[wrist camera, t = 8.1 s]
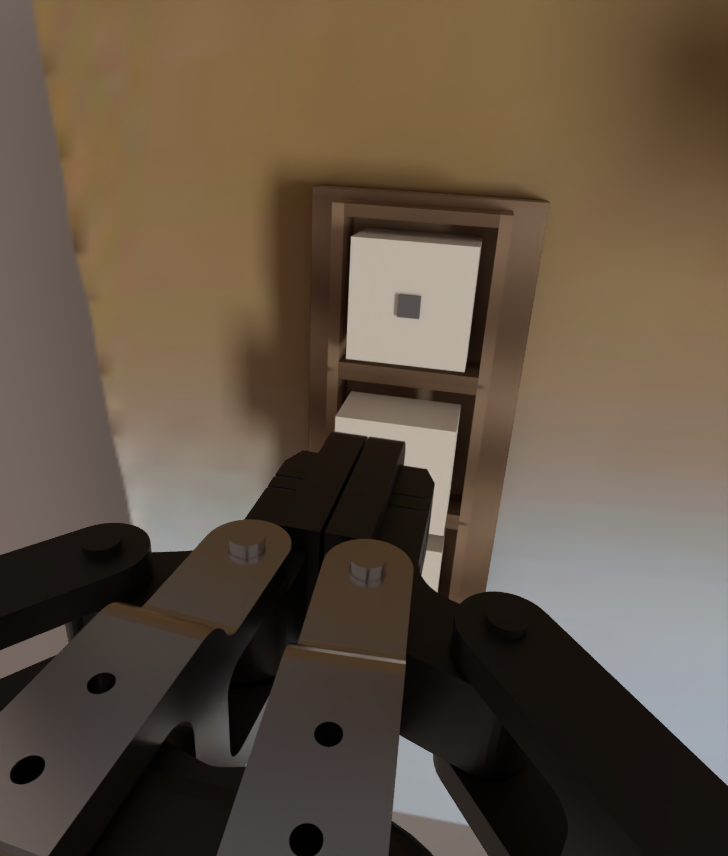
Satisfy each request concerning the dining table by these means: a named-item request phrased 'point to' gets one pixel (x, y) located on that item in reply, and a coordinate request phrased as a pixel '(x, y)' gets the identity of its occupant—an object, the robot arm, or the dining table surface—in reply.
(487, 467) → the brown tile tray
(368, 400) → the tile two
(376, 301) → the tile one
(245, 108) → the dining table surface
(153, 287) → the dining table surface
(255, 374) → the dining table surface
